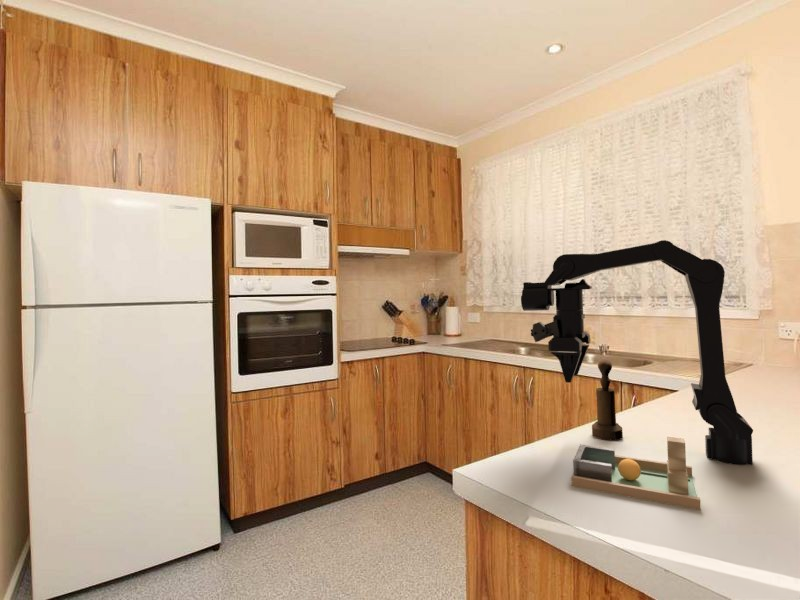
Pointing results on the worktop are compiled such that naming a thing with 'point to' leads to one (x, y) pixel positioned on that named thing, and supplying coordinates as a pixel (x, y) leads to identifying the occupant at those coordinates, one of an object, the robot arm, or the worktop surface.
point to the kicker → (677, 466)
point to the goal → (594, 462)
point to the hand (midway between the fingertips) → (571, 378)
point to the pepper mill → (606, 407)
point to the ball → (629, 469)
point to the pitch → (644, 484)
